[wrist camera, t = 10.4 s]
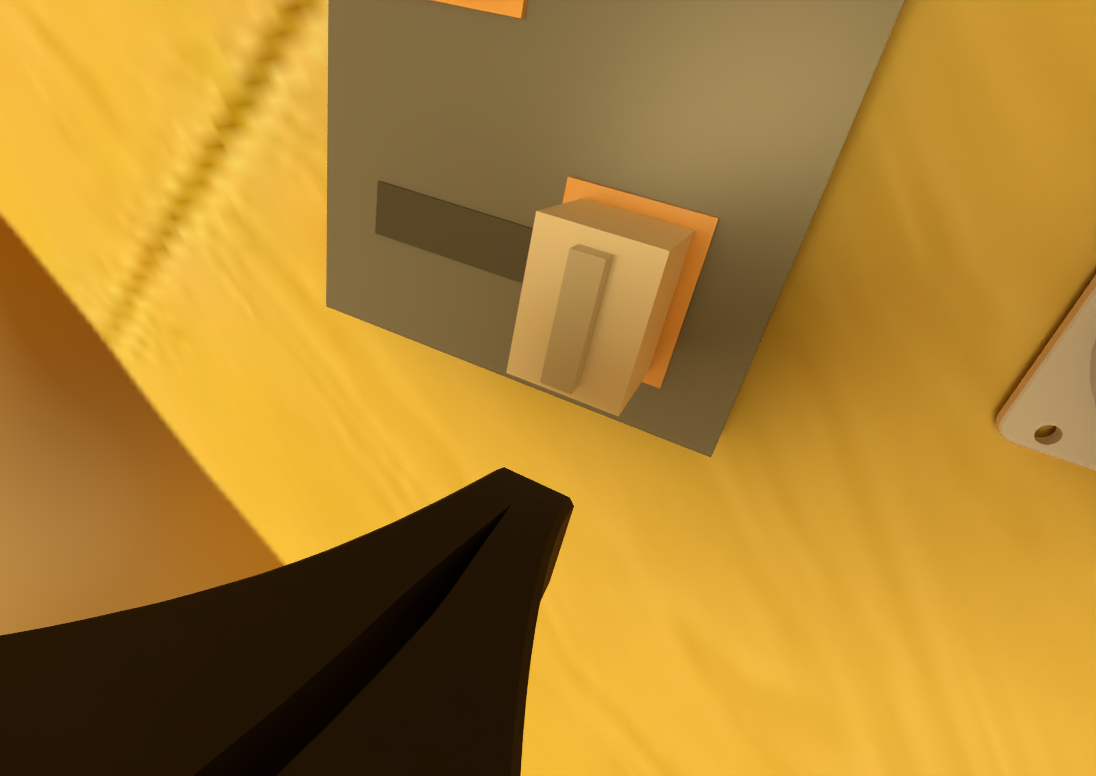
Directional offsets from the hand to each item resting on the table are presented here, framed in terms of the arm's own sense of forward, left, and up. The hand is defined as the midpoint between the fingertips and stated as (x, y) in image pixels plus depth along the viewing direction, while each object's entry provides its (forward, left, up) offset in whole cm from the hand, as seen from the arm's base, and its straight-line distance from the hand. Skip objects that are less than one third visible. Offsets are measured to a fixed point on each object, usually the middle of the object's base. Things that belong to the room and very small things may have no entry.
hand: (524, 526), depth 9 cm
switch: (+1, -2, -8) cm, 8 cm away
